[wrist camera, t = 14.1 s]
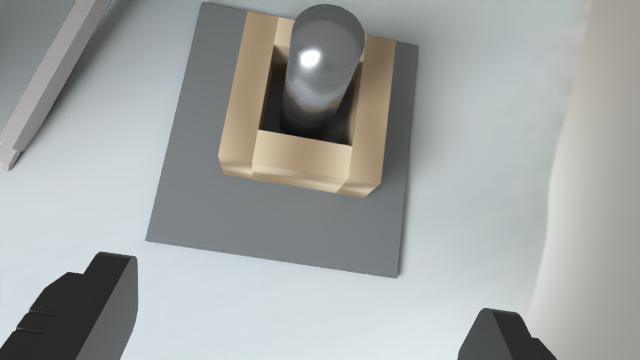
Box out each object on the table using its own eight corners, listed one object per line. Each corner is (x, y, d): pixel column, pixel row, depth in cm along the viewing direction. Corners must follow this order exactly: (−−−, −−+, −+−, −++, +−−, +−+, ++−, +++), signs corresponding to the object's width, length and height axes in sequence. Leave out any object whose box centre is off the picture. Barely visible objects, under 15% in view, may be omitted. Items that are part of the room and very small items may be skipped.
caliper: (172, -81, 32) (153, -167, 26) (186, -74, 32) (170, -158, 26) (-4, 165, 27) (-81, 128, 21) (13, 173, 27) (-59, 139, 21)
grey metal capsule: (276, 140, 28) (286, 63, 19) (284, 94, 29) (297, -3, 20) (325, 149, 29) (360, 77, 19) (332, 103, 30) (369, 12, 20)
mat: (147, 241, 26) (145, 240, 26) (202, 6, 30) (201, 1, 30) (394, 278, 28) (397, 277, 27) (416, 49, 32) (418, 45, 31)
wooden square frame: (223, 174, 27) (217, 155, 24) (248, 46, 30) (247, 10, 26) (363, 197, 28) (380, 183, 24) (378, 72, 30) (396, 40, 27)
